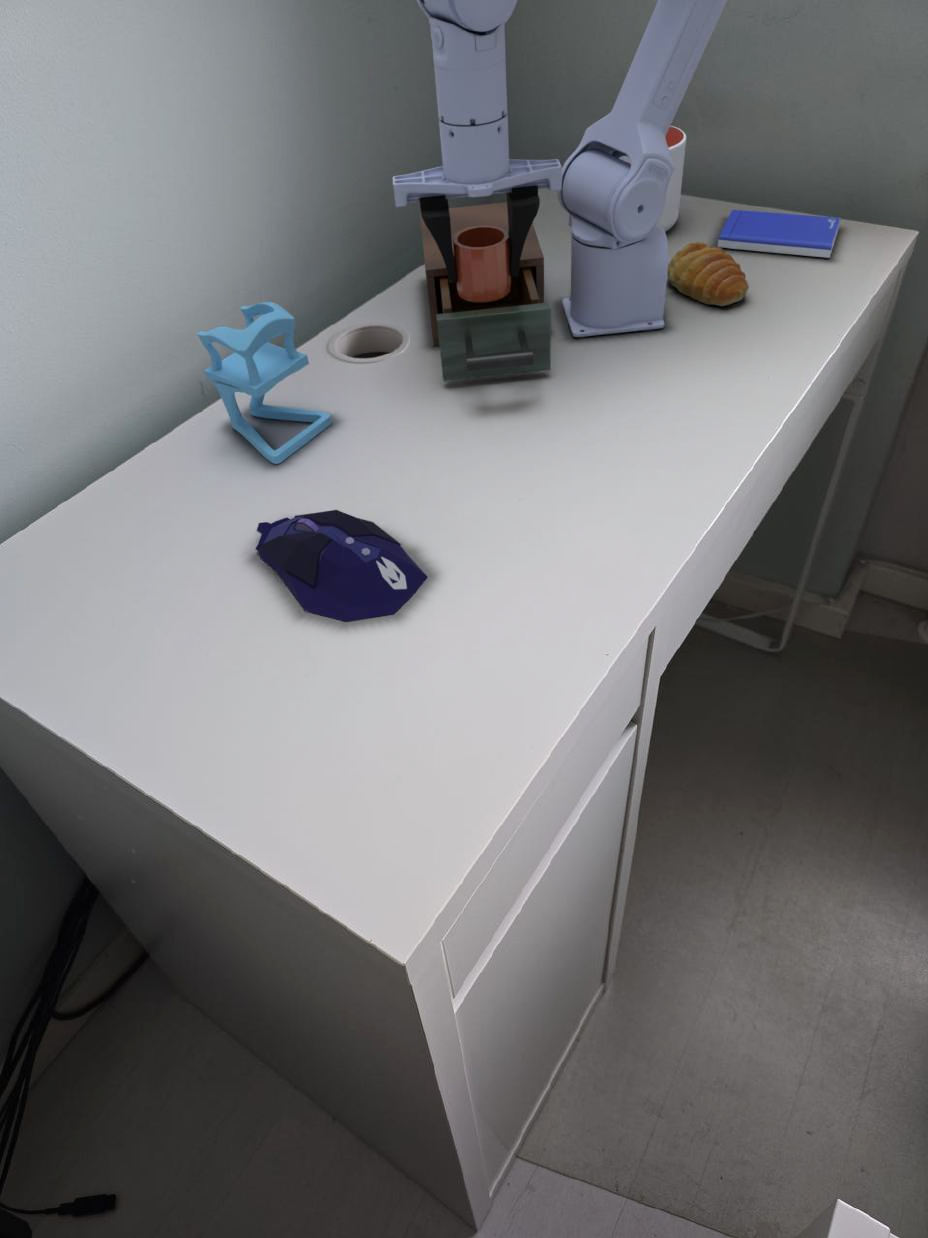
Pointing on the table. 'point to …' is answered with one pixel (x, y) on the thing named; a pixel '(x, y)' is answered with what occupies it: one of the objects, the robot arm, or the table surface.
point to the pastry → (707, 275)
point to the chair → (260, 374)
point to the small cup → (482, 263)
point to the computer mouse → (339, 564)
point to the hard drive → (780, 233)
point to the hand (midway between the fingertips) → (482, 275)
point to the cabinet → (434, 259)
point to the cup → (672, 177)
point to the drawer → (494, 332)
